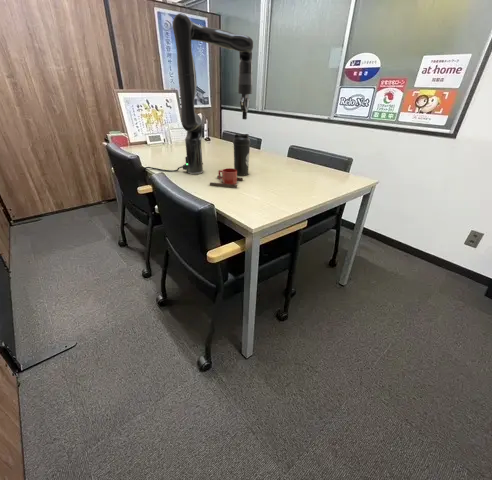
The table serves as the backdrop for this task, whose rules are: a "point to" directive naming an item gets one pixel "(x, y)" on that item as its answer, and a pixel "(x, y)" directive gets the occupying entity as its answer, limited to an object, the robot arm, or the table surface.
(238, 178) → the guide rails
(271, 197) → the table surface
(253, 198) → the table surface
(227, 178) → the mug
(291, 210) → the table surface
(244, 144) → the water bottle
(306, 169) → the table surface
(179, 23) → the robot arm
